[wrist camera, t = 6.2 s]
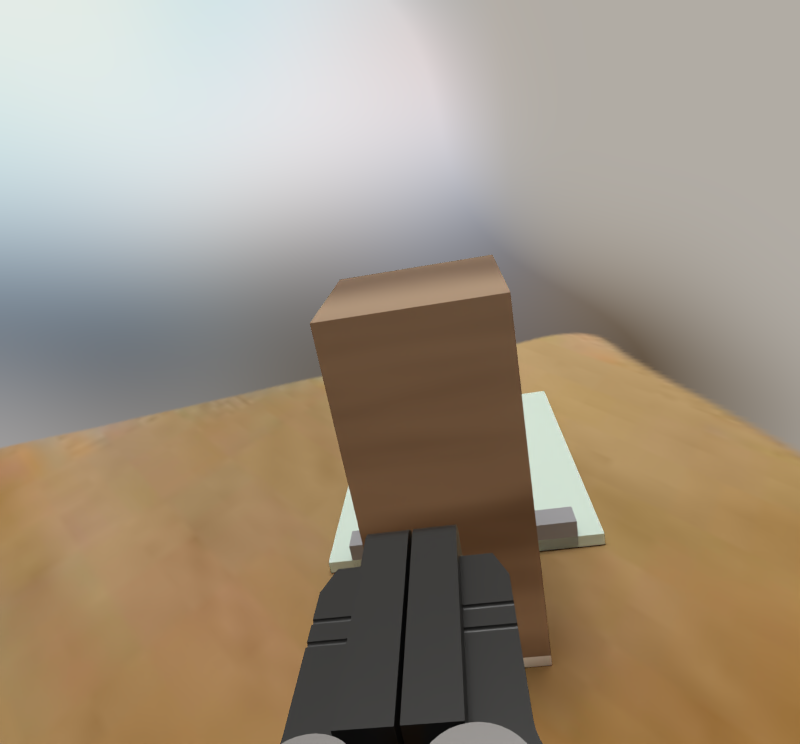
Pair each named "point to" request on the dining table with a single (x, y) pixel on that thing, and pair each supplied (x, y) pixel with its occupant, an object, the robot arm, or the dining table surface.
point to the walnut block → (436, 416)
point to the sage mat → (551, 484)
